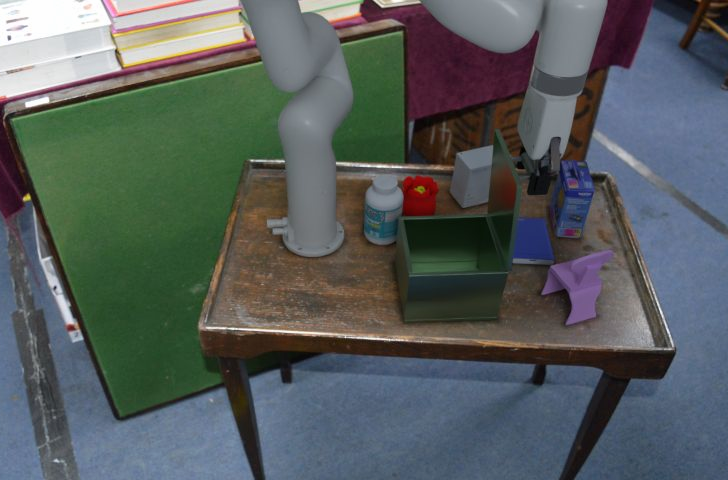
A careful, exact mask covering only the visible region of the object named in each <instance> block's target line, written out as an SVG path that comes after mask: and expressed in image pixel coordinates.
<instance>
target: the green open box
mask: <svg viewBox="0 0 728 480" xmlns="http://www.w3.org/2000/svg"><path fill="white" fill-rule="evenodd" d="M395 245H396V246H395V247H396V248H395V257H394V266H395V274H396V279H397V286H398V287H397V288H398V292H399V298H400V306H401V312H402V317H403V323H404V324H424V323H426V324H427V323H452V322H453V323H454V322H457V323H458V322H482V321H497V320H498V316H499V313H500V309H501V304H502V300H503V296H504V292H505V288H506V284H507V281H508V280H507V279H508V276H509V271H507V270H506V267H505V264H504V261H503V258H502V255H501V252H500V249H499V246H498V243H497V240H496V237H495V234H494V231H493V228H492V225H491V221H490V218H489V215H488V213H476V214H475V213H471V214H469V213H468V214H442V215H441V214H440V215H438V214H437V215H433V216H407V217H406V216H402V217H399V219H398V231H397V240H396V244H395Z"/></svg>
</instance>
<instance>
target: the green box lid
mask: <svg viewBox="0 0 728 480" xmlns="http://www.w3.org/2000/svg"><path fill="white" fill-rule="evenodd" d="M492 145H493V154H492V165H491V177H490V188H489V199H488V202H487V210H486V211H487V214H488V215H489V218H490V221H491V225H492V228H493V231H494V234H495V237H496V240H497V243H498V246H499V249H500V252H501V255H502V258H503V261H504V264H505V267H506V270H507V271H508V272H509V271H512V269H513V264H514V263H513V255H514V248H515V240H516V233H517V225H518V218H520V209H521V201H522V195H523V186H524V185H523V183H522V181H530V177H531V173H532V172H534V170H535V160H532V159H531V158H530V157H529V156H528V154H527V152H526V151H525V152H523V153H522V154H521V155H520V156H519V155H513V156H512V155H511V153H510V152H509V148H508V146H507V144H506V141H505V139H504V137H503V134H502V132H501V129H500V128H495V129H494V133H493V144H492ZM510 155H511V156H510ZM519 161H522V163H523V165H524V168H525V173H521V174H520V173H518V171H517V167H516V166H515V163H517V162H519Z"/></svg>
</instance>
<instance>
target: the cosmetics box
mask: <svg viewBox="0 0 728 480" xmlns="http://www.w3.org/2000/svg"><path fill="white" fill-rule="evenodd" d="M492 154H493V144H491V145H486V146H482V147H477V148H473V149H467V150H463V151H459V152H456V154H455V161H454V166H453V172H452V178H451V183H450V188H449V193H450V195H451V196H452V197H453V199H454V200H455V201H456V202H457V203H458V205H459V206H460V208H462V209H465V208H470V207H473V206H477V205H482V204H486V203H488V199H489V188H490V177H491V165H492ZM510 156H512V155H511V154H510Z"/></svg>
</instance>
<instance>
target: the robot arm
mask: <svg viewBox="0 0 728 480" xmlns="http://www.w3.org/2000/svg"><path fill="white" fill-rule="evenodd" d="M239 1H240V3H241V6H242V8H243V11H244V13H245V16H246V18H247V21H248V24H249V27H250V31H251V34H252V36H253V39H254V41H255V45H256V48H257V50H258V53H259V57H260V59H261V62H262V64H263V68H264V70H265V73H266V75H267V78H268V80H269V81H270V82H271V84H272V86H273V87H274V88H276V90H278V91H280V92H282V93H284V94H293V93H295V94H294V95H293V96H292V97H291V98H290V100H288V101H287V103H286V104H285V106H284V107H283V109H282V110H281V112H280V114H279V118H278V121H277V134H278V139H279V142H280V145H281V149H282V153H283V160H284V170H285V173H284V174H285V179H286V180H285V183H286V184H285V185H286V197H287V199H286V200H287V213H286V214H287V216H283V217H282V218H266V228H267V229H272V236H279V235H281V236H282V242H283V244H284V246H285V248H287V249H288V250H289V251H290V252H291V253H293V254H296V255H298V256H301V257H307V258H318V257H324V256H327V255H330V254H332V253H335V252H336V251H337V250H338V249H339V248H340V247H341V246H342V244H343V243H344V241H345V228H344V226H343V225H342V224H341V222H340V221H338V219H337V217H338V215H337V214H338V213H337V211H338V210H337V209H338V208H337V207H338V206H337V204H338V202H337V198H338V197H337V195H338V194H337V189H338V188H337V177H338V176H337V159H336V158H337V157H336V154H335V151H334V149H333V138H334V136H335V133H336V132H338V130H339V128H340V127H341V124H342V123H344V121H345V120H346V118H347V117H348V115H349V114H350V112H351V111H352V108H353V106H354V102H355V101H354V99H355V97H354V88H353V85H352V80H351V77H350V73H349V70H348V69H349V68H348V66H347V62H346V58H345V55H344V51H343V48H342V44H341V42H340V38H339V36H338V33H337V32H336V29H335V28H334V26H333V25H332V24H331V22H330V21H329V20H328V19H327V18H325V17H324V16H323V15H321V14H319V13H316V12H313V11H304V12H302V10H301V6H300V2H299V0H239ZM418 1H419V3H421V5H422V6H423V7H424V8H425V9H426V10H427V11H428V12H429V13H430V14H431V15H432V17H433V18H435V19H436V20H437V22H438V23H440V24H441V25H442V26H444V27H445V28H446V29H447V30H449V31H451V32H452V33H453V34H455V35H457V36H459V37H461V38H463V39H465V40H466V41H468V42H470V43H472V44H473V45H476V46H478V47H480V48H482V49H483V50H487V51H489V52H493V53H497V54H512V53H515V52H517V51H519V50H521V49H523V48H524V47H525V46H526V45H527V44H528V43H530V42H531V40H532V38H533V37H534V34H535V33H536V32H538V34H539V35H538V40H537V44H536V48H535V53H534V58H533V63H532V67H531V71H530V76H529V80H528V86H527V89H526V92H525V94H524V98H523V102H522V106H521V109H520V112H519V117H518V121H517V126H516V127H517V133H518V136H519V138H520V140H521V141H520V142H521V143H520V144H521V146H520V149H519V153H518V156H520V155H521V154H522V153H523V152H525V151H526V152H527V154H528V156H529V157H530V158H531V159H532V160H535V170H534V172H532V173H531V177H530V180H528V185H527V189H526V193H527V195H528V196H546V195H548V194H549V190H550V187H551V184H552V180H553V177H554V176H555V174H556V173H558V172H559V170H560V163H561V159H562V158H563V156H564V154H565V152H566V151H567V150H566V149H567V147H568V143H569V139H570V135H571V131H572V126H573V122H574V117H575V112H576V107H577V101H578V97H579V96H581V95H582V93H583V91H584V87H585V83H586V80H587V77H588V73H589V69H590V66H591V63H592V60H593V56H594V53H595V50H596V46H597V42H598V38H599V35H600V31H601V28H602V25H603V21H604V18H605V15H606V11H607V6H608V0H418ZM546 152H547V154H546ZM542 161H548V163H547V164H546V165H543V166H542ZM516 170H521V171H523V170H525V168H524V165H523V163H522V161H519V162H516ZM525 171H526V170H525Z"/></svg>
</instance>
